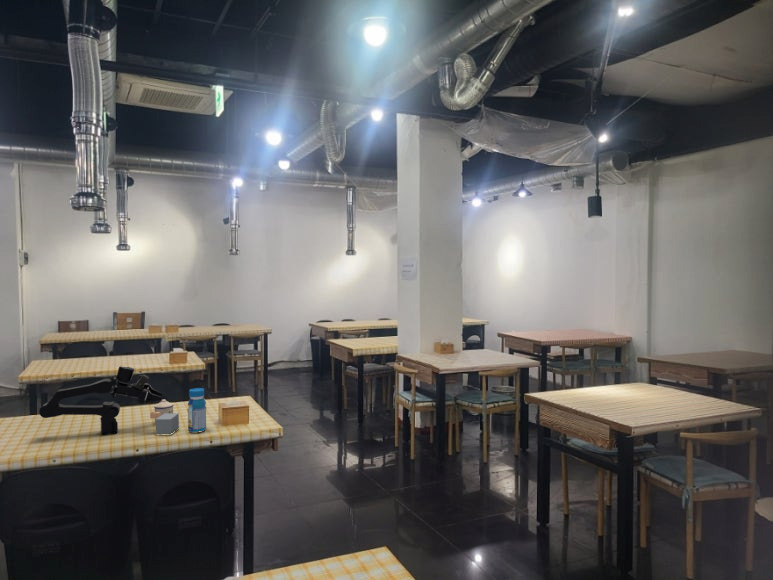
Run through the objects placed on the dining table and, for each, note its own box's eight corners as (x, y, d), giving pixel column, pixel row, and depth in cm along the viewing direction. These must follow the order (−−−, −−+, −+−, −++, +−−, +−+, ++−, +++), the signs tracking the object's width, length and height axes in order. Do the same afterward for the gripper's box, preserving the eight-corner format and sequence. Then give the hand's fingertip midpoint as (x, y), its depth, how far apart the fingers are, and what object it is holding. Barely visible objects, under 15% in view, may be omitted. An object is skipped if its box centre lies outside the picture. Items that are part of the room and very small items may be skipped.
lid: (146, 420, 241) (146, 415, 241) (155, 414, 251) (155, 409, 251) (170, 420, 241) (170, 415, 241) (178, 414, 251) (178, 409, 251)
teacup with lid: (169, 425, 258) (169, 401, 258) (151, 425, 258) (150, 402, 257) (178, 418, 270) (178, 396, 270) (160, 418, 270) (160, 396, 269)
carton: (155, 435, 241) (155, 420, 241) (164, 429, 251) (164, 414, 251) (171, 435, 241) (170, 420, 241) (178, 429, 251) (178, 414, 251)
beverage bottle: (200, 434, 243) (199, 391, 243) (184, 433, 245) (183, 391, 244) (209, 429, 251) (209, 388, 251) (194, 428, 253) (193, 387, 253)
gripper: (131, 377, 240) (167, 384, 246) (134, 370, 257) (167, 377, 263) (124, 400, 239) (159, 407, 245) (127, 392, 256) (160, 398, 262)
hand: (162, 396), depth 254 cm, fingers open, 9 cm apart
